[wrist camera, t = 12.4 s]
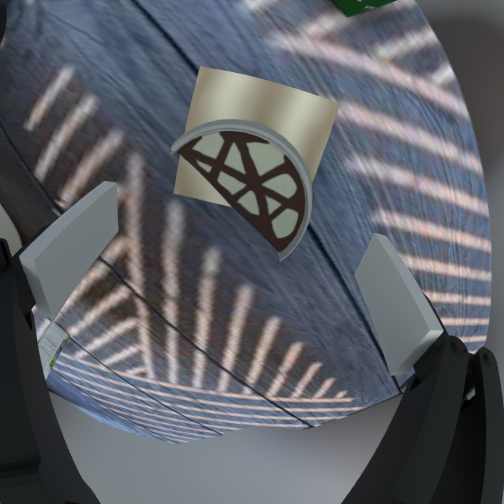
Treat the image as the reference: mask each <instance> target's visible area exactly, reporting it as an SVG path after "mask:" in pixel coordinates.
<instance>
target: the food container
mask: <svg viewBox="0 0 504 504" xmlns="http://www.w3.org/2000/svg"><path fill="white" fill-rule="evenodd" d="M171 150H172V152H171V154H173V153H176V152H178V153H179V154H180V155H181V156H182V157H183V158H184V159H185V160H186V161H188V162H189V163H190V164H191V165H192V166H193V167H194V168H195V169H196V170H197V171H198V172H199V173H200V174H201V175H202V176H203V177H204V178H205V179H206V180H207V181H208V182H209V183H210V184H211V185H212V186H213V187H214V188H215V189H216V190H217V191H218V193H219V194H220V195H221V196H222V197H223V198H224V199H225V200H226V201H227V202H228V203H229V205H230V206H231V207H232V208H234V209H235V210H236V211H237V212H238V213H239V214H240V215H241V216H242V217H244V218H245V219H246V220H247V221H248V222H249V223H250V224H251V225H252V226H253V227H254V228H255V229H256V230H257V231H258V232H259V233H260V234H261V235H262V236H263V237H264V238H265V239H266V240H267V241H268V242H269V243H270V244H271V245H272V246H273V247H274V248H275V249H276V250H277V251H278V255H279V259H280V262H281V261H282V260H283V259H285V258H286V257H287V256H288V255H289V254H290V253H291V252H292V251H293V250H294V248H295V247H296V246H297V244H298V243H299V241H300V240H301V238H302V237H303V235H304V233H305V231H306V228H307V226H308V224H309V220H310V216H311V209H312V184H311V179H310V175H309V172H308V169H307V167H306V165H305V163H304V161H303V159H302V157H301V156H300V154H299V153H298V151H297V150H296V149H295V147H294V146H293V145H292V144H291V143H290V142H289V141H288V140H287V139H286V138H284V137H283V136H282V135H280V134H279V133H277V132H276V131H274V130H273V129H270V128H268V127H266V126H264V125H262V124H259V123H255V122H252V121H248V120H240V119H223V120H216V121H212V122H207V123H204V124H202V125H200V126H197V127H195V128H193V129H191V130H189V131H188V132H186V133H185V134H183V135H182V136H181V137H179V138H178V139H177V140H176V141H175V142H174V143H173V145H172V147H171Z"/></svg>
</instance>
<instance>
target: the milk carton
mask: <svg viewBox="0 0 504 504" xmlns="http://www.w3.org/2000/svg"><path fill="white" fill-rule="evenodd" d="M333 1H334V2H335V3H336V5H337V6H338V7H339V8H340V9H341V10H342V11H343V13H344V14H345V15H346V16H347V17H349V16H352V15H355V14H358V13H361V12H364V11H367V10H371V9H374V8H377V7H380V6H383V5H386V4H388V3H391V2H394V1H397V0H333Z"/></svg>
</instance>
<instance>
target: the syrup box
mask: <svg viewBox="0 0 504 504" xmlns="http://www.w3.org/2000/svg"><path fill="white" fill-rule="evenodd" d="M68 338H69V334H68V333H66V332H65V331H64V330H63V329H62V328H61V327H59V326H58V325H57V324H56V323H55V322H54V321H52V322H51V323H50V324H49V326H48V327H47V328H46V329H45V331H44V332H43V334H42V336H41V337H40V339H39V340H38V348H39V353H40V358H41V363H42V368H43V372H44V376H45V380H46V378H47V377H48V375H49V373H50V371H51V369H52V367H53V365H54V363H55V361H56V359H57V358H58V356H59V354H60V352H61V350H62V349H63V347H64V345H65V343H66V342H67V340H68Z"/></svg>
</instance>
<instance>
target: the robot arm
mask: <svg viewBox="0 0 504 504" xmlns="http://www.w3.org/2000/svg"><path fill="white" fill-rule="evenodd" d="M5 22H6V11H5V8H4V7H3V6H2V5H0V42H1V39H2V36H3V32H4V28H5ZM117 232H118V211H117V183H114V182H107V181H104V182H103V183H101V184H100V185H99V186H97V187H96V188H95V189H93V190H92V191H91V192H89V193H88V194H87V195H86V196H84V197H83V198H82V199H81V200H79V201H78V202H77V203H76V204H75V205H73V206H72V207H71V208H70V209H69V210H67V211H66V212H65V213H64V214H63V215H62V216H60V217H59V218H58V219H57V220H56V221H55V222H54V223H51V224H49V225H47V226H45V227H43V228H42V229H41V230H39V231H38V232H37V233H36V234H35V236H33V237H32V238H31V239H30V241H28V242H27V243H26V244H25V245H24V246H23V247H22V248H21V249H20V250H19V251H18V252H17V253H16V254H15V255H14V256H13V257H12V256H11V253H10V250H9V246H8V243H7V241H6V240H5V239H2V238H0V503H1V504H100V502H99V500H98V499H97V497H96V495H95V494H94V492H93V491H92V490H91V488H90V487H89V486H88V485H87V484H86V483H85V482H84V480H83V479H82V477H81V476H80V474H79V472H78V469H77V467H76V465H75V463H74V461H73V459H72V456H71V454H70V452H69V449H68V447H67V445H66V442H65V440H64V437H63V434H62V432H61V429H60V426H59V424H58V421H57V418H56V415H55V412H54V409H53V406H52V402H51V399H50V395H49V392H48V388H47V384H46V380H45V376H44V372H43V368H42V363H41V358H40V353H39V348H38V342H37V336H36V329H35V322H34V315H33V312H32V310H31V309H32V308H33V306H34V305H35V304H36V305H37V308H38V310H39V313H40V314H41V315H43V316H46V317H48V318H51V319H53V320H55V318H56V316H57V315H58V313H59V312H60V310H61V309H62V307H63V305H64V304H65V302H66V301H67V299H68V298H69V296H70V295H71V293H72V292H73V291H74V289H75V288H76V286H77V285H78V283H79V282H80V280H81V279H82V278H83V276H84V275H85V273H86V272H87V271H88V269H89V268H90V267H91V265H92V264H93V263H94V261H95V260H96V259H97V257H98V256H99V255H100V253H101V252H102V251H103V249H104V248H105V247H106V246H107V244H108V243H109V242H110V241H111V239H112V238H113V237H114V236H115V234H116V233H117ZM354 275H355V278H356V280H357V282H358V285H359V287H360V290H361V292H362V295H363V298H364V300H365V303H366V305H367V308H368V311H369V313H370V316H371V319H372V321H373V324H374V327H375V330H376V333H377V335H378V338H379V341H380V344H381V347H382V350H383V353H384V356H385V359H386V362H387V365H388V369H389V372H390V375H405V374H406V373H407V372H408V371H409V370H410V369H411V368H412V366H413V367H414V370H415V373H414V374H413V375H412V376H411V377H410V378H409V379H408V380H407V381H406V382H405V383H404V384H403V385H402V386H401V387H400V388H401V389H403V388H404V387H405V386H407V387H406V390H405V392H404V394H403V397H402V399H401V401H400V404H399V406H398V408H397V410H396V412H395V415H394V417H393V419H392V421H391V423H390V425H389V427H388V429H387V431H386V433H385V435H384V437H383V438H382V440H381V442H380V444H379V446H378V448H377V449H376V451H375V453H374V455H373V456H372V458H371V460H370V461H369V463H368V465H367V466H366V468H365V470H364V471H363V473H362V474H361V476H360V478H359V479H358V480H357V482H356V483H355V485H354V486H353V488H352V489H351V491H350V492H349V493H348V495H347V496H346V498H345V499H344V500H343V502H342V503H341V504H502V496H503V489H504V406H503V397H502V390H501V383H500V377H499V371H498V366H497V362H496V359H495V357H494V354H493V353H492V352H491V351H490V350H488V349H487V348H485V347H482V348H480V349H479V350H478V351H477V352H476V353H475V354H472V353H469V352H468V350H467V348H466V346H465V344H464V343H463V342H462V341H461V340H460V339H459V338H457V337H455V336H451V335H450V336H449V335H448V333H447V331H446V329H445V327H444V325H443V323H442V322H441V320H440V318H439V316H438V314H436V313H437V312H436V311H435V309H434V308H433V305H432V304H431V302H430V300H429V298H428V297H427V296H426V295H425V294H424V293H423V292H422V291H421V289H420V288H419V286H418V284H417V283H416V281H415V279H414V278H413V276H412V274H411V273H410V271H409V270H408V268H407V267H406V265H405V263H404V262H403V260H402V259H401V257H400V256H399V254H398V253H397V251H396V250H395V248H394V247H393V245H392V244H391V243H390V241H389V240H388V238H387V237H386V236H384V235H380V234H376V233H374V234H373V237H372V239H371V241H370V243H369V245H368V248H367V250H366V252H365V254H364V256H363V258H362V260H361V262H360V264H359V266H358V268H357V270H356V272H355V274H354ZM474 389H475V395H474V396H473V397H472V398H471V399H470V400H468V399H467V395H469V394H470V393H471V392H472V391H473V390H474Z"/></svg>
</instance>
